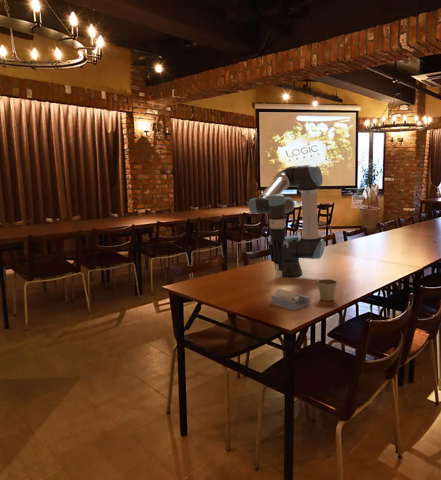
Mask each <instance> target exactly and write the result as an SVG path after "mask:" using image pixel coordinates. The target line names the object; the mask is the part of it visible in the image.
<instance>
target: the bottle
mask: <svg viewBox="0 0 441 480" xmlns="http://www.w3.org/2000/svg"><path fill="white" fill-rule="evenodd" d="M296 293H297V292H293V291H290V290H286V289H283V288H276V290H275V291H274V294H273V295H276V296H279V297H283V298H286V299H289V300H293V301H296V302H298V303H300V304H301V303H303V300H304V299H303V297H298V296H297V294H298V293H297V294H296Z"/></svg>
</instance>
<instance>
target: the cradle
mask: <svg viewBox="0 0 441 480" xmlns="http://www.w3.org/2000/svg"><path fill="white" fill-rule="evenodd" d="M295 293H296V294H297V296H298V297H303V299H304V300H303V303H301V304H300V303H298V302H296V301H293V300H289V299H286V298H283V297H279V296H276V295H274V294H272V295H270V304H271V305H274V306H278V307H281V308H284V309H287V310H291V311H296V310H299V309H301V308H304V307H308V306H310V305H311V304H310V303H311V302H310V301H311V300H310V299H311V297H310V296H307V295H304V294H300V293H297V292H295Z"/></svg>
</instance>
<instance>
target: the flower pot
mask: <svg viewBox="0 0 441 480" xmlns="http://www.w3.org/2000/svg"><path fill="white" fill-rule="evenodd" d="M316 283H317V285H318V290H319V297H320V298H319V299H320V300H322V301H324V302H330V301H334V300H335V299H334V298H335V293H336V287H337V284H338V281H337V280H335V279H328V278H325V279H324V278H322V279H319V280H317V281H316Z"/></svg>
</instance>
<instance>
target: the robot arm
mask: <svg viewBox="0 0 441 480" xmlns="http://www.w3.org/2000/svg"><path fill="white" fill-rule="evenodd" d="M322 185H323V174H322V170H321V168H320V166H318V165H317V164H307V165H306V164H305V165H292V166H288V167H286V168H284V169H282V170H281V171H279V172H278V173H276V174H275V176H274V177H273V179H272V182H271V183H270V184H269V185H268V186H267V187H266V188H265V189H264V191H263V192H261V194H259V196H258V197H254V198H250V199H249V201H248V210H249V212H250V213H251V214H268V215H269V217H268V219H269V221H268V222H269V237H270V240H269V241H267V242H266V244H267V246H268V250H269V256H270V260H271V262H273V264H274V270H275V277H276V278H283V277H284V278H294V277H295V278H296V277H300V276H302V275H303V270H302V268H301V267H302V266H301V263H300V259H310V260H315V259H316V260H320V259H321V258H322V257H323V255H324V252H325V248H326V246H325V245H326V241H325V239H324V238H322V234H320V233H319V224H318V223H319V222H318V220H319V219H318V197H317V195H318V191H319V190H320V187H321V186H322ZM292 187H293V188H296V187H297V191H298V192H300V193H301V194H300V196H301V197H300V199H301V200H300V201H301V217H302V234H301V235H300V237H299V236H298V235H289V236H287V230H286V227H287V225H286V223H287V222H286V214H289V213H291V212H292V211H293V210H294V208H295V201H294V199H293V198H291V197H288V196H285V195H284V194H282V192H283V191H284V190H287V189H288V188H292Z"/></svg>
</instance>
